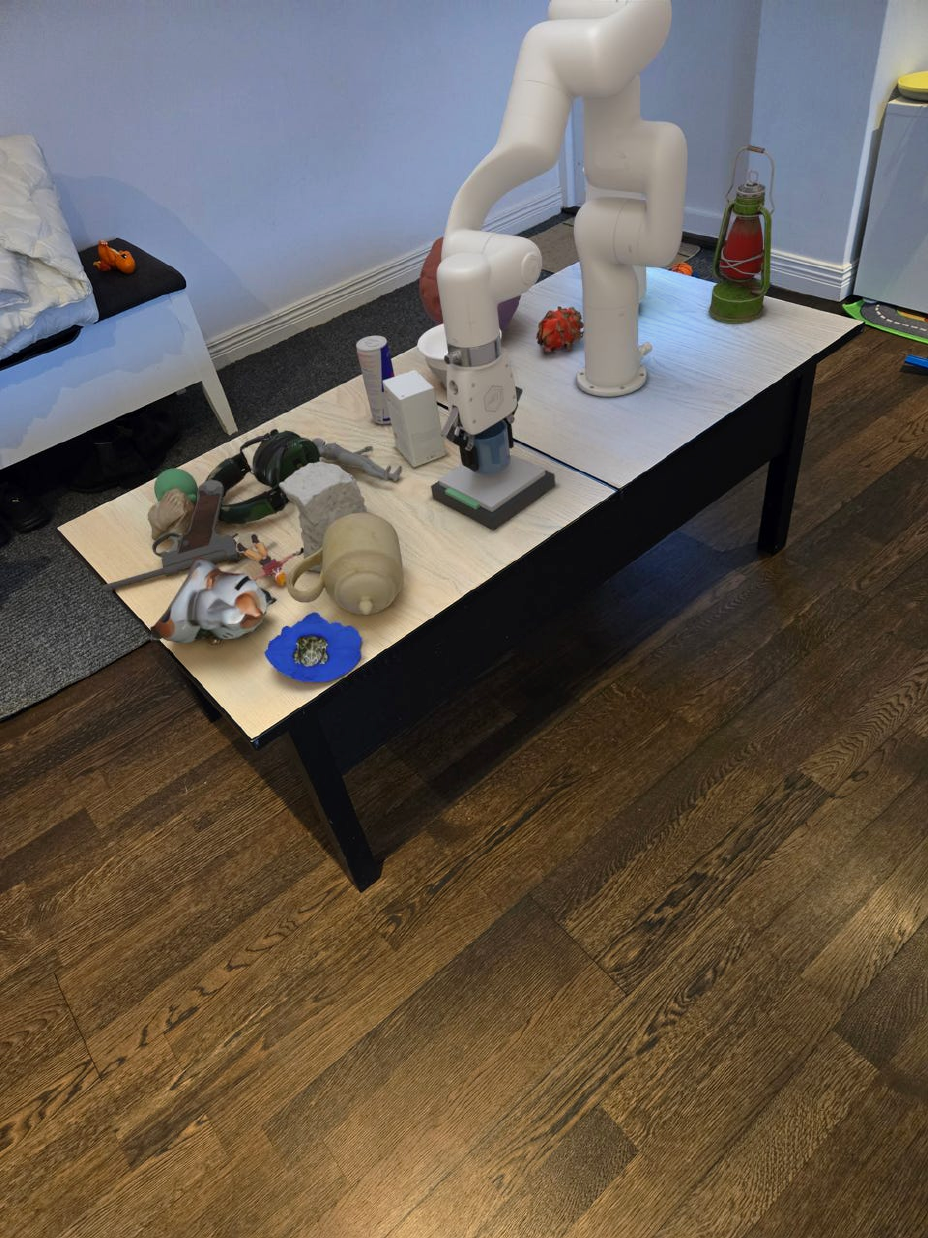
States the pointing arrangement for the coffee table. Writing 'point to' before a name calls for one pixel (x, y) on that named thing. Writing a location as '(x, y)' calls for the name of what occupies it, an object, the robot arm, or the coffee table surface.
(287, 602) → the coffee table surface
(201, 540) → the handgun
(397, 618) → the coffee table surface
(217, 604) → the lucky cat figurine
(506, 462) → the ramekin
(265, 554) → the action figure
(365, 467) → the action figure
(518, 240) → the robot arm
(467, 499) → the scale
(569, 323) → the dragon fruit
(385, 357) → the beverage can
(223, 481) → the headphones
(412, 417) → the small box
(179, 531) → the seashell
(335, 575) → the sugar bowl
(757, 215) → the lantern
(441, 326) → the bowl
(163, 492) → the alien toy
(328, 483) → the decorative stone
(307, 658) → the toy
